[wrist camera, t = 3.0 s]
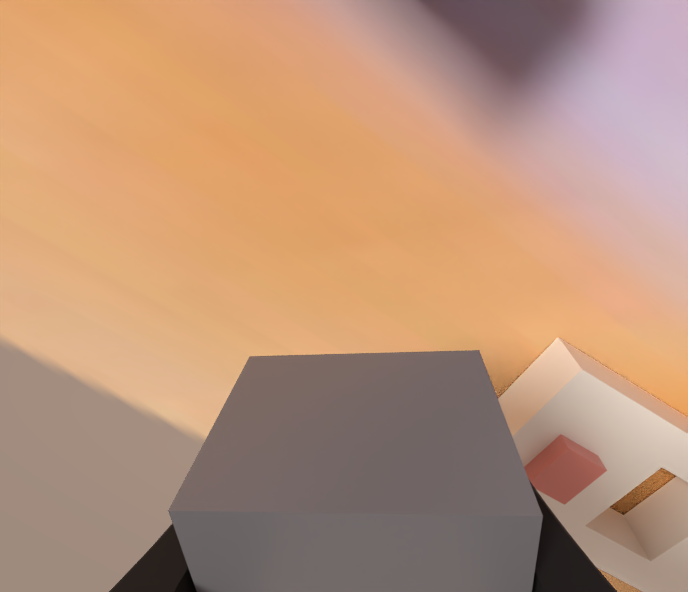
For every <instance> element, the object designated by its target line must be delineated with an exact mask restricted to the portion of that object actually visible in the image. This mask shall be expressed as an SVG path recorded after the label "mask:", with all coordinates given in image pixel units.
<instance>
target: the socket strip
mask: <svg viewBox="0 0 688 592" xmlns="http://www.w3.org/2000/svg"><path fill="white" fill-rule="evenodd" d="M498 401H499V403H500V406H501V409H502V411H503V414H504V416H505V419H506V422H507V424H508V427H509V429H510V432H511V435H512V437H513V440H514V442H515V445H516V448H517V450H518V453H519V455H520V458H521V461H522V463H523V466H524V468H525V471H526V474H527V476H528V479H529V480H530V482H531V483H532V485H533V486H534V487H535V489H536V490H537V492H538V493H539V494H540V496H541V497H542V498H543V500H544V501H545V503H546V504H547V505H548V507H549V508H550V509H551V511H552V512H553V513H554V515H555V516H556V517H557V519H558V520H559V521H560V522H561V524H562V525H563V526H564V528H565V529H566V530H567V532H568V533H569V534H570V535H571V537H572V538H573V539H574V540H575V542H576V543H577V544H578V545H579V546H580V548H581V549H582V550H583V551H584V553H585V554H586V555H587V556H588V558H589V559H590V560H591V561H592V563H593V564H594V565H595V566H596V567H597V568H598V569H600V570H602V571H604V572H606V573H608V574H610V575H612V576H614V577H615V578H617V579H619V580H621V581H623V582H625V583H627V584H629V585H631V586H633V587H634V588H636V589H638V590H640V591H642V592H688V417H687V416H685V415H683V414H682V413H680V412H679V411H677V410H675V409H674V408H672V407H670V406H669V405H667V404H666V403H664V402H662V401H661V400H659V399H657V398H656V397H654V396H653V395H651V394H649V393H648V392H646V391H645V390H643V389H641V388H640V387H638V386H636V385H635V384H633V383H632V382H630V381H628V380H627V379H625V378H623V377H622V376H620V375H619V374H617V373H615V372H614V371H612V370H611V369H609V368H607V367H606V366H604V365H602V364H601V363H599V362H598V361H596V360H594V359H593V358H591V357H589V356H588V355H586V354H585V353H583V352H581V351H580V350H578V349H577V348H575V347H573V346H572V345H570V344H568V343H567V342H565V341H564V340H562V339H560V338H559V337H557V338H556V339H555V340H554V341H553V343H552V344H551V345H550V346H549V347H548V348H547V349H546V350H545V351H544V352H543V353H542V354H541V355H540V356H539V357H538V358H537V359H536V360H535V361H534V362H533V363H532V364H531V365H530V366H529V367H528V368H527V369H526V370H525V371H524V372H523V373H522V374H521V375H520V377H519V378H518V379H517V380H516V381H515V382H514V383H513V384H512V385H511V386H510V387H509V388H508V389H507V390H506V391H505V392H504V393H503V394H502V395H501V396H500V397H499V398H498ZM660 468H664V469H666V470H667V471H669V472H671V473H672V474H674V475H676V477H675V478H673V479H672V480H671V481H669V482H668V483H666V484H665V485H664V486H662V487H661V488H660V489H658V490H657V491H656V492H654V493H653V494H652V495H650V496H649V497H647V498H646V499H645V500H643V501H642V502H641V503H639V504H638V505H637V506H635V507H634V508H633V509H631V510H630V511H628V512H627V513H626V514H624V515H623V514H621V513H619V512H617V511H615V510H614V509H612V508H610V506H612V505H613V504H614V503H616V502H617V501H618V500H620V499H621V498H622V497H623V496H625V495H626V494H627V493H629V492H630V491H631V490H633V489H634V488H635V487H637V486H638V485H639V484H641V483H642V482H643V481H645V480H646V479H647V478H649V477H650V476H651V475H652V474H654V473H655V472H656V471H658V470H659V469H660Z"/></svg>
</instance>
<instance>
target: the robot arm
mask: <svg viewBox="0 0 688 592" xmlns="http://www.w3.org/2000/svg"><path fill="white" fill-rule="evenodd" d="M529 481H530V480H529ZM530 484H531V487H532V489H533V492H534V494H535V497H536V500H537V502H538V505H539V507H540V510H541V513H542V515H543V519H542V526H541V532H540V539H539V546H538V553H537V560H536V567H535V573H534V580H533V587H532V592H617V591H616V590H615V589H614V587H613V586H612V585H611V584H610V583H609V582H608V580H607V579H606V578H605V577H604V576H603V575H602V573H601V572H600V571H599V570H598V569H597V567H596V566H595V565H594V564H593V563H592V561H591V560H590V559H589V558H588V556H587V555H586V554H585V553H584V551H583V550H582V549H581V548H580V546H579V545H578V544H577V543H576V542H575V540H574V539H573V538H572V537H571V535H570V534H569V533H568V532H567V530H566V529H565V528H564V526H563V525H562V524H561V522H560V521H559V520H558V519H557V517H556V516H555V515H554V513H553V512H552V511H551V509H550V508H549V507H548V505H547V504H546V503H545V501H544V500H543V498H542V497H541V496H540V494H539V493H538V492H537V490H536V489H535V487H534V486H533V485H532V483H531V482H530ZM109 592H197V591H196V588H195V585H194V583H193V580H192V577H191V574H190V571H189V568H188V565H187V563H186V560H185V557H184V554H183V551H182V548H181V545H180V543H179V540H178V537H177V534H176V531H175V528H174V525H173V523H172V525H171V526H170V527H169V528H168V529H167V530H166V531H165V532H164V534H163V535H162V536H161V537H160V538H159V539H158V540H157V542H156V543H155V544H154V545H153V546H152V547H151V548H150V549H149V551H147V553H146V554H145V555H144V556H143V557H142V558H141V559H140V560H139V561H138V562H137V563H136V564H135V565H134V566H133V567H132V568H131V569H130V571H129V572H128V573H127V574H126V575H125V576H124V577H123V578H122V579H121V580H120V581H119V582H118V583H117V584H116V585H115V586H114V587H113V588H112V589H111V590H110V591H109Z"/></svg>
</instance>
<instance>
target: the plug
mask: <svg viewBox="0 0 688 592" xmlns="http://www.w3.org/2000/svg"><path fill="white" fill-rule="evenodd" d="M168 511H169V514H170V517H171V520H172V523H173V525H174V528H175V531H176V534H177V537H178V540H179V543H180V545H181V548H182V551H183V554H184V557H185V560H186V563H187V565H188V568H189V571H190V574H191V577H192V580H193V583H194V585H195V588H196V591H197V592H532V587H533V580H534V573H535V567H536V560H537V553H538V546H539V539H540V532H541V526H542V519H543V515H542V513H541V510H540V507H539V505H538V502H537V500H536V497H535V494H534V492H533V489H532V487H531V484H530V481H529V479H528V476H527V474H526V471H525V468H524V466H523V463H522V461H521V458H520V455H519V453H518V450H517V448H516V445H515V442H514V440H513V437H512V435H511V432H510V429H509V427H508V424H507V422H506V419H505V416H504V414H503V411H502V409H501V406H500V403H499V401H498V398H497V396H496V393H495V390H494V388H493V385H492V383H491V380H490V377H489V375H488V372H487V370H486V367H485V364H484V362H483V359H482V357H481V354H480V351H479V350H473V351H436V352H399V353H361V354H324V355H287V356H250V357H249V359H248V361H247V363H246V365H245V367H244V368H243V370H242V372H241V374H240V376H239V378H238V380H237V382H236V384H235V385H234V387H233V389H232V391H231V393H230V395H229V397H228V399H227V401H226V403H225V404H224V406H223V408H222V410H221V412H220V414H219V416H218V418H217V420H216V421H215V423H214V425H213V427H212V429H211V431H210V433H209V435H208V437H207V438H206V440H205V442H204V444H203V446H202V448H201V450H200V452H199V454H198V455H197V457H196V459H195V461H194V463H193V465H192V467H191V469H190V471H189V472H188V474H187V476H186V478H185V480H184V482H183V484H182V486H181V488H180V490H179V491H178V493H177V495H176V497H175V499H174V501H173V503H172V505H171V507H170V508H169V510H168Z"/></svg>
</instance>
